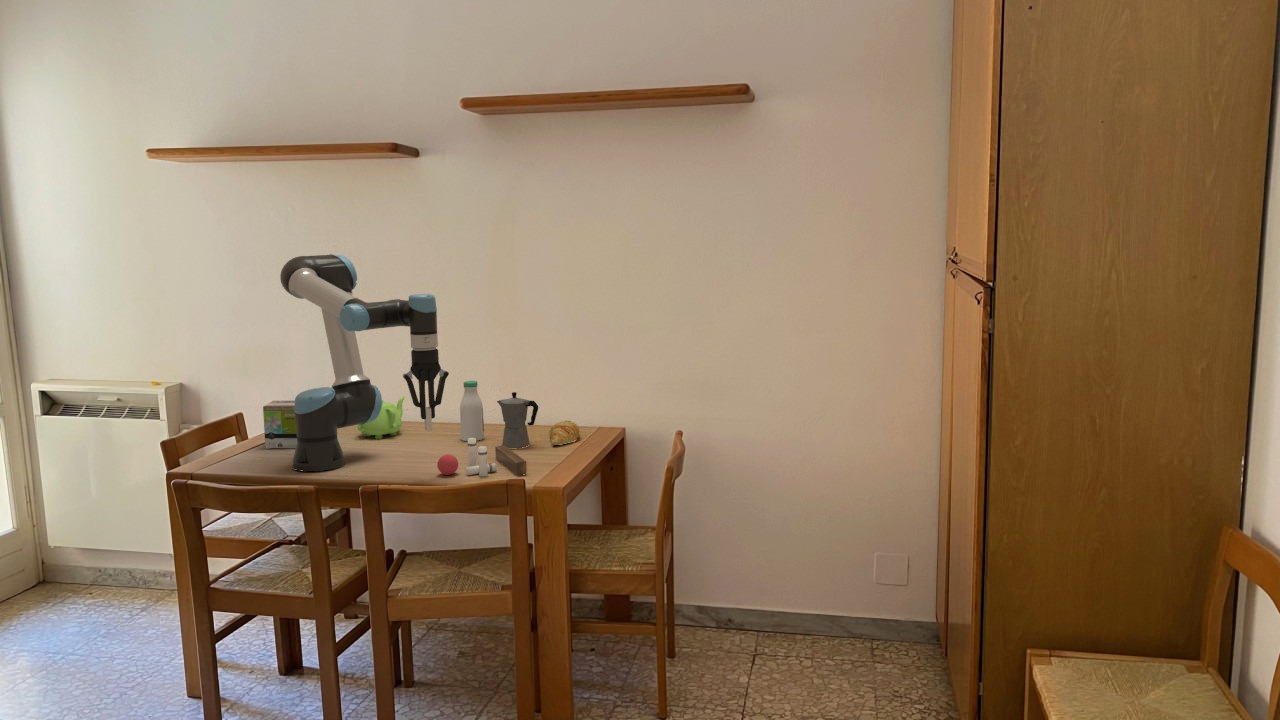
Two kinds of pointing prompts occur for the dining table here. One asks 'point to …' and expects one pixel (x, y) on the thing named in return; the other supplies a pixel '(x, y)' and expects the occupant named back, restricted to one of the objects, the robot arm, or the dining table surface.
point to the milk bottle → (471, 413)
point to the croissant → (564, 432)
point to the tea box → (280, 424)
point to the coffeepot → (516, 421)
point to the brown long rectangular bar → (511, 460)
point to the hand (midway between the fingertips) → (428, 429)
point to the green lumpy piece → (384, 421)
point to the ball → (447, 464)
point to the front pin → (475, 469)
